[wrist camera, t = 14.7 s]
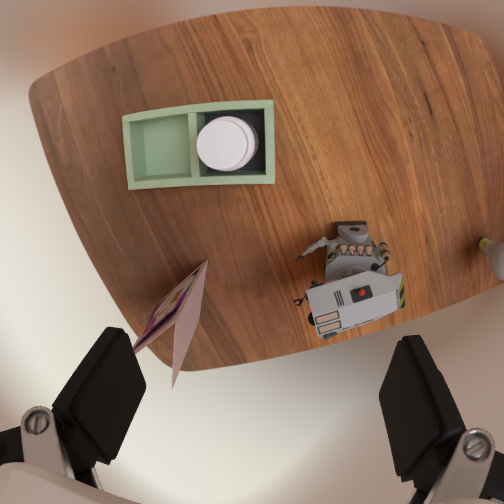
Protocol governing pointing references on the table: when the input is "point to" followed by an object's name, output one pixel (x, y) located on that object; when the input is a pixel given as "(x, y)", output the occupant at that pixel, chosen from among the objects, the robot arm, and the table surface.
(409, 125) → the table surface
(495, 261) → the light bulb
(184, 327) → the greeting card
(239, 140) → the pill bottle
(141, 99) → the table surface
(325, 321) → the figurine
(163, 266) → the table surface
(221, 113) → the holder
